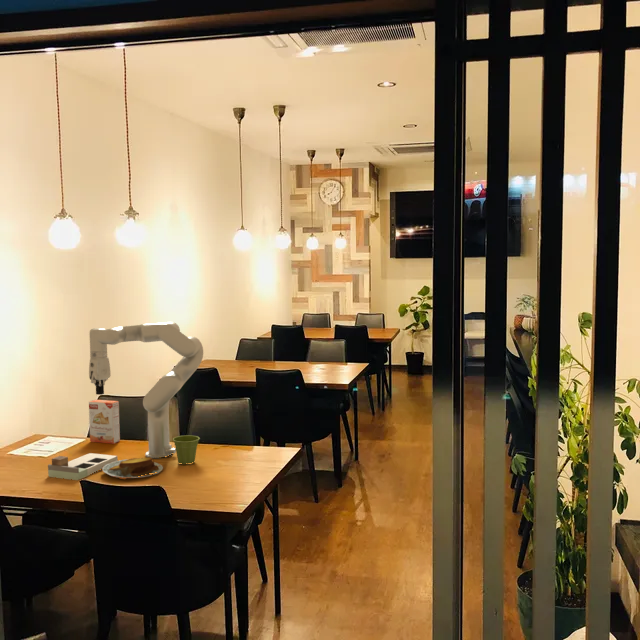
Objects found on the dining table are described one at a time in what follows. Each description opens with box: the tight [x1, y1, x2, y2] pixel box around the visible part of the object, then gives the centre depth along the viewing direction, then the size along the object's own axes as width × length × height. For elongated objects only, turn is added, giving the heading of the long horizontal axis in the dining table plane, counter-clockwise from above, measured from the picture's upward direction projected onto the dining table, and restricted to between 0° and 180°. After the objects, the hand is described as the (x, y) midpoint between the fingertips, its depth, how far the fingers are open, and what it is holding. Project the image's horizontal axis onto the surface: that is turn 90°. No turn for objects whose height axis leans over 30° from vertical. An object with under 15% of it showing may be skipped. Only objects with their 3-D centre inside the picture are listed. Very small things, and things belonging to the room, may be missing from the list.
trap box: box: [47, 452, 119, 481], centre depth 288 cm, size 15×26×5 cm, turn 160°
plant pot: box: [172, 434, 201, 464], centre depth 296 cm, size 12×12×11 cm
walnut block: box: [51, 455, 69, 466], centre depth 280 cm, size 4×4×4 cm
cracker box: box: [88, 399, 121, 445], centre depth 334 cm, size 14×6×21 cm, turn 73°
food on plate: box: [102, 456, 164, 480], centre depth 283 cm, size 25×25×7 cm
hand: (100, 394), depth 307 cm, fingers closed
